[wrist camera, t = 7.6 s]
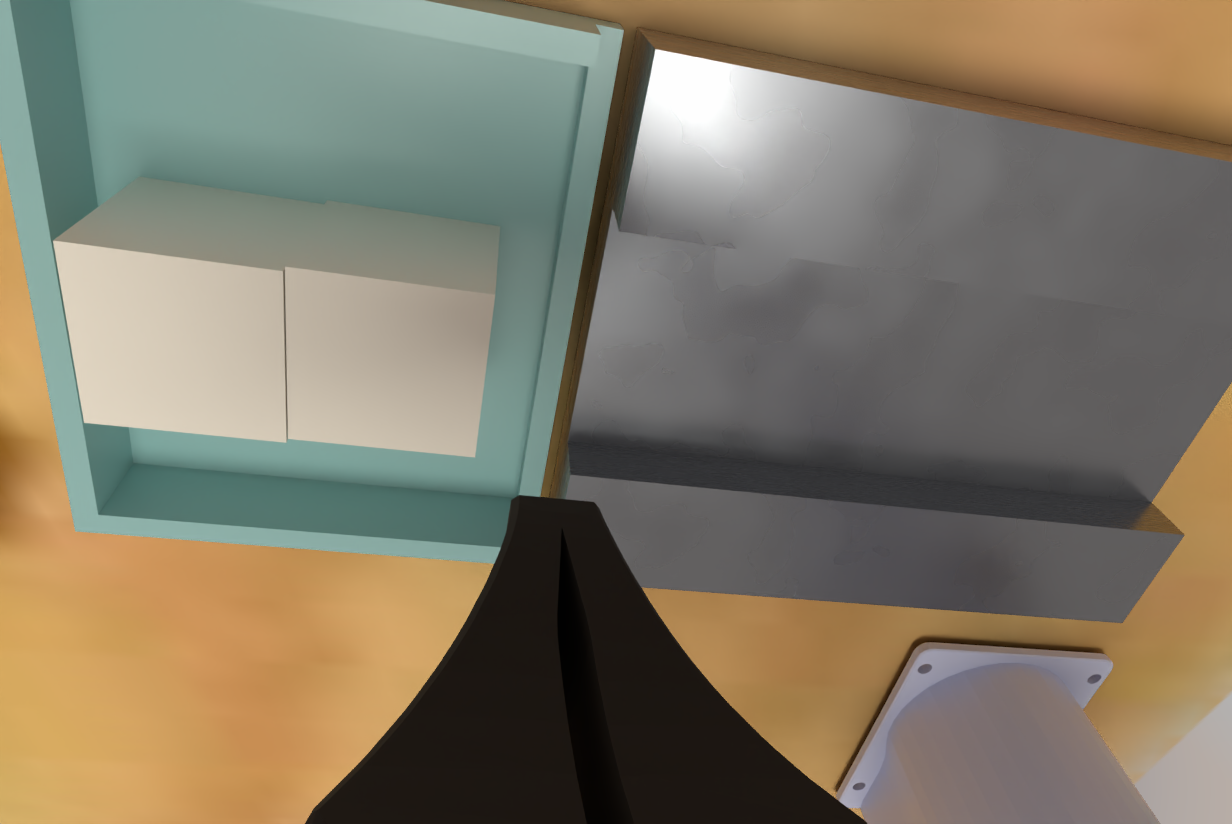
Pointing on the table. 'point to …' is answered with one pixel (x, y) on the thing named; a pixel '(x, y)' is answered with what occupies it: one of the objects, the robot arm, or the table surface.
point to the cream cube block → (389, 329)
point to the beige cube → (182, 308)
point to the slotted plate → (892, 339)
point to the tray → (316, 172)
